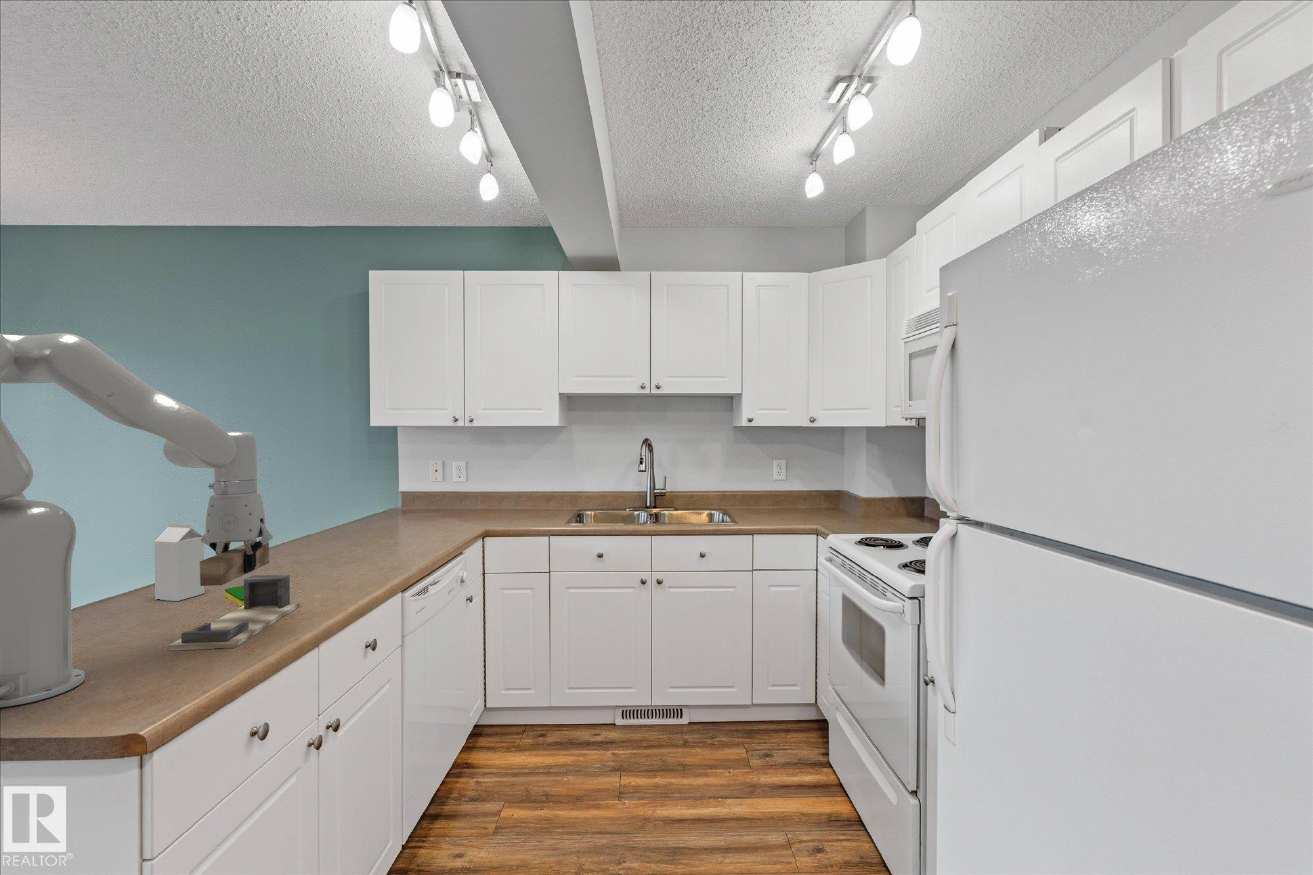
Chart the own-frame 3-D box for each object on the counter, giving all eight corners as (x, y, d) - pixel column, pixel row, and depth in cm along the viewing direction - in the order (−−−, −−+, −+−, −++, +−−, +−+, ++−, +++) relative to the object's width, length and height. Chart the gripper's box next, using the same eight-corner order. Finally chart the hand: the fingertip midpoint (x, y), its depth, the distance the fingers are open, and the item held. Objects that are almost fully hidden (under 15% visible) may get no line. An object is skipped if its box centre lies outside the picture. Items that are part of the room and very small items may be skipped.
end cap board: (233, 648, 116) (233, 607, 116) (167, 650, 115) (167, 609, 114) (299, 606, 143) (299, 573, 143) (246, 607, 141) (246, 574, 141)
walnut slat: (221, 585, 118) (221, 560, 118) (200, 585, 118) (199, 561, 118) (269, 562, 136) (268, 541, 136) (250, 563, 136) (250, 542, 135)
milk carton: (177, 601, 146) (176, 526, 145) (154, 600, 147) (153, 525, 147) (204, 593, 153) (204, 521, 152) (182, 592, 154) (182, 520, 154)
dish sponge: (241, 608, 142) (241, 598, 142) (224, 597, 151) (224, 588, 151) (274, 602, 148) (274, 592, 148) (256, 592, 156) (256, 583, 156)
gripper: (182, 490, 122) (184, 577, 122) (268, 489, 124) (269, 575, 125) (205, 486, 129) (207, 568, 130) (286, 485, 131) (287, 566, 132)
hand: (237, 570), depth 127 cm, fingers closed on walnut slat, 4 cm apart
